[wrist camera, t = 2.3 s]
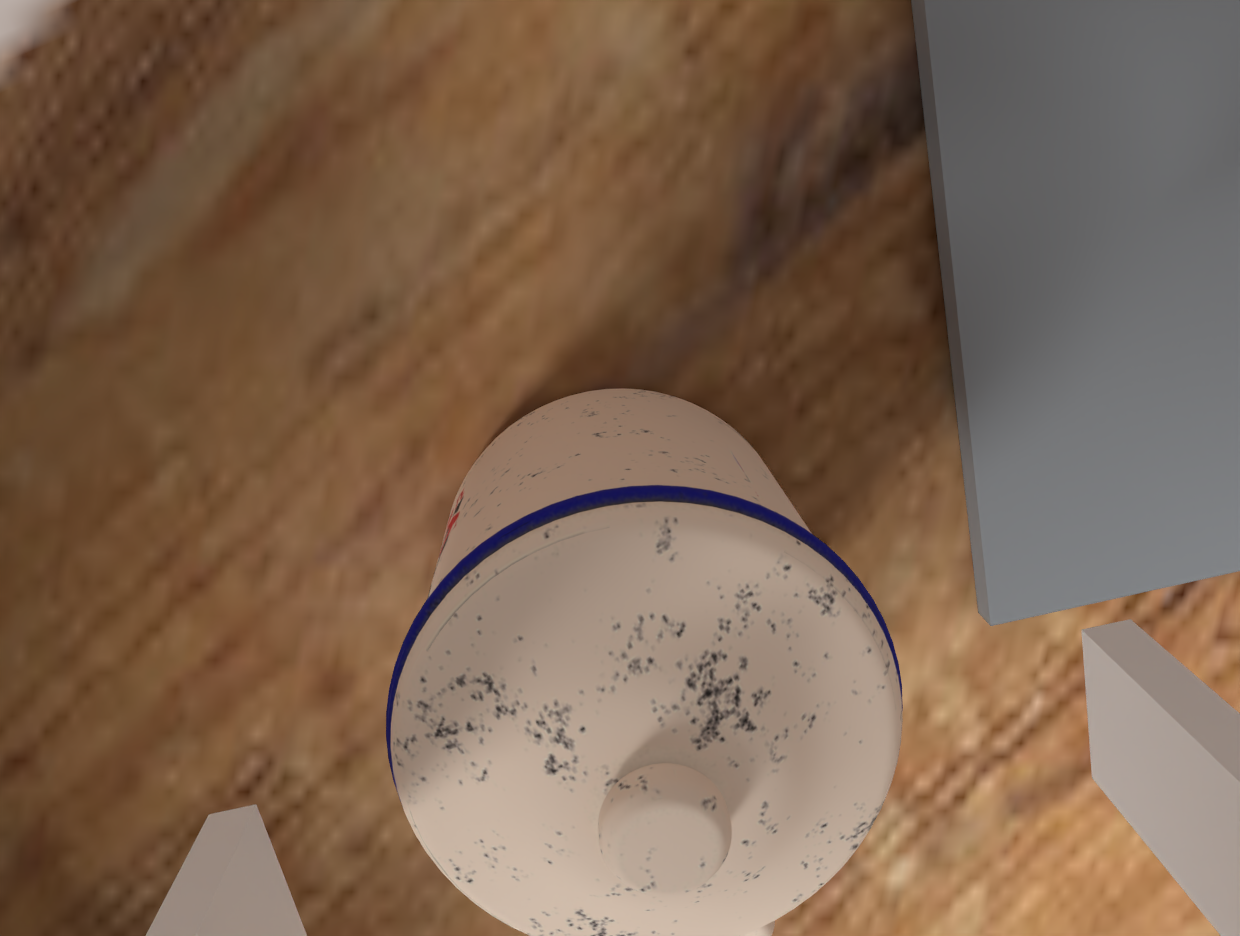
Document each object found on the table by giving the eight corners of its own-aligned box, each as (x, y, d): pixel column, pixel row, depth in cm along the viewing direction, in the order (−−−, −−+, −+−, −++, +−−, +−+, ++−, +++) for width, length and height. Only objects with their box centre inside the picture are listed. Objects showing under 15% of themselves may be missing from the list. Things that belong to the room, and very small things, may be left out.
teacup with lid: (376, 455, 25) (237, 707, 14) (727, 318, 24) (875, 464, 13) (560, 836, 29) (568, 1277, 17) (868, 723, 28) (1076, 1102, 17)
